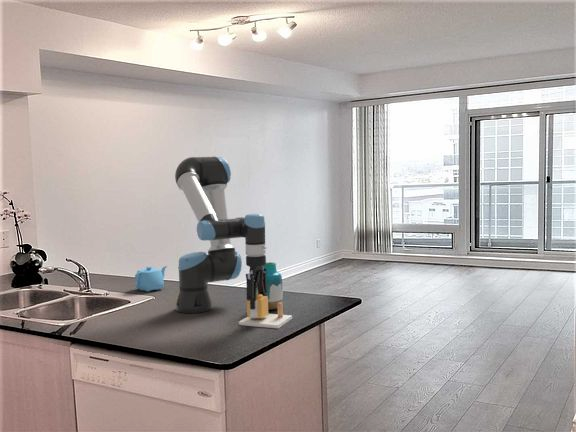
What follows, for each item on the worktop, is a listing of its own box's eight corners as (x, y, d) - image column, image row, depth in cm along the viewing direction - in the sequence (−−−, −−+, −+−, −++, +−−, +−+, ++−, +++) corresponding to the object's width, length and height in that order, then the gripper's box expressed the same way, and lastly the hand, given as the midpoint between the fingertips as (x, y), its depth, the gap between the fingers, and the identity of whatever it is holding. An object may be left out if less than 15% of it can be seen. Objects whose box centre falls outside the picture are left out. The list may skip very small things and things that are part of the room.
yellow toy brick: (247, 317, 212) (246, 296, 211) (254, 313, 217) (253, 292, 217) (261, 318, 210) (261, 297, 209) (268, 314, 215) (267, 293, 214)
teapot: (174, 288, 279) (174, 265, 278) (142, 294, 266) (141, 270, 265) (161, 284, 287) (160, 262, 286) (129, 290, 275) (128, 267, 274)
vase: (287, 307, 235) (286, 261, 233) (276, 313, 225) (275, 266, 224) (265, 305, 239) (263, 260, 238) (253, 311, 230) (251, 264, 228)
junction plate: (238, 324, 210) (238, 307, 210) (254, 315, 223) (254, 298, 222) (278, 328, 204) (277, 310, 204) (292, 318, 217) (291, 301, 217)
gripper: (254, 259, 201) (256, 322, 203) (274, 251, 219) (276, 309, 221) (235, 258, 204) (237, 320, 206) (257, 251, 222) (259, 308, 224)
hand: (257, 315), depth 213 cm, fingers closed on yellow toy brick, 6 cm apart
